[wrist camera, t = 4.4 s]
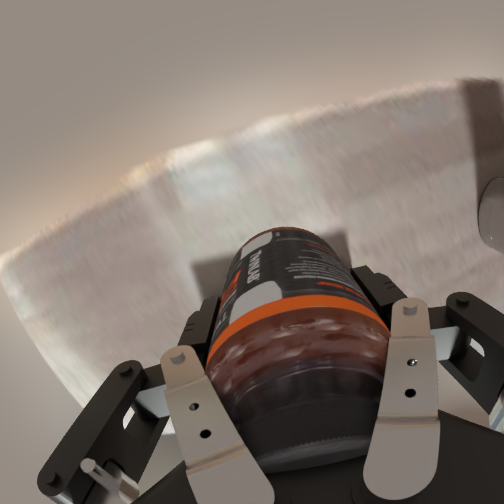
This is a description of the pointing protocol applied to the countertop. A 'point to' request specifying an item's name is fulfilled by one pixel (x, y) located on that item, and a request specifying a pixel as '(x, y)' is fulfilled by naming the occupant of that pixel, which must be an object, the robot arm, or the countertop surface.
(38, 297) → the countertop surface
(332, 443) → the supplement bottle
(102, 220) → the countertop surface
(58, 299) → the countertop surface
